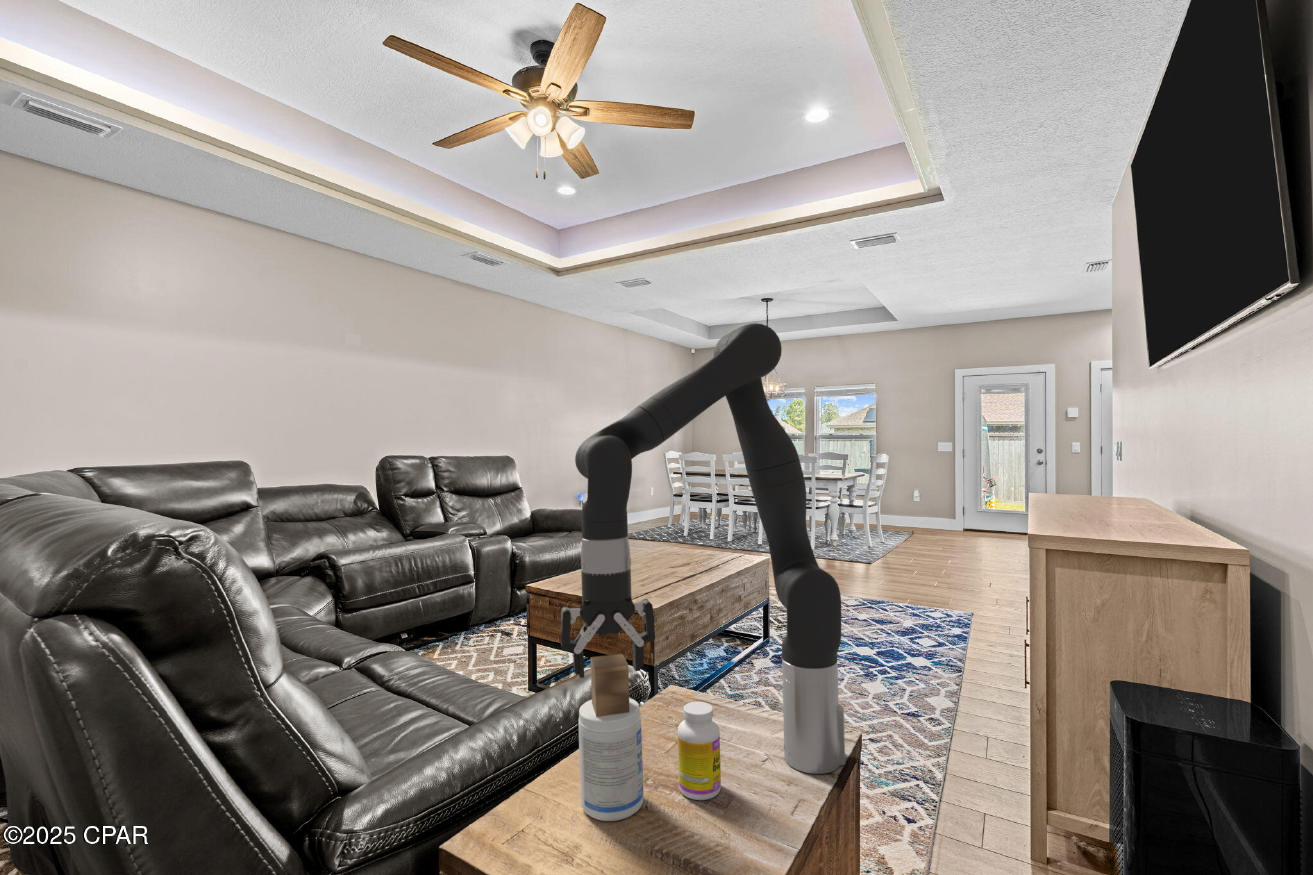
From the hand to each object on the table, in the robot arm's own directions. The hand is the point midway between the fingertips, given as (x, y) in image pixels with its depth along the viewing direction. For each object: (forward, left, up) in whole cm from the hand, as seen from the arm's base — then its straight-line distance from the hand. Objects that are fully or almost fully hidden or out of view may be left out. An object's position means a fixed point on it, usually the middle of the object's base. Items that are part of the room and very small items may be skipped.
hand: (609, 672), depth 91 cm
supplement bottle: (-14, 0, -20) cm, 25 cm away
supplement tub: (0, 0, -20) cm, 20 cm away
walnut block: (0, 0, -5) cm, 5 cm away
